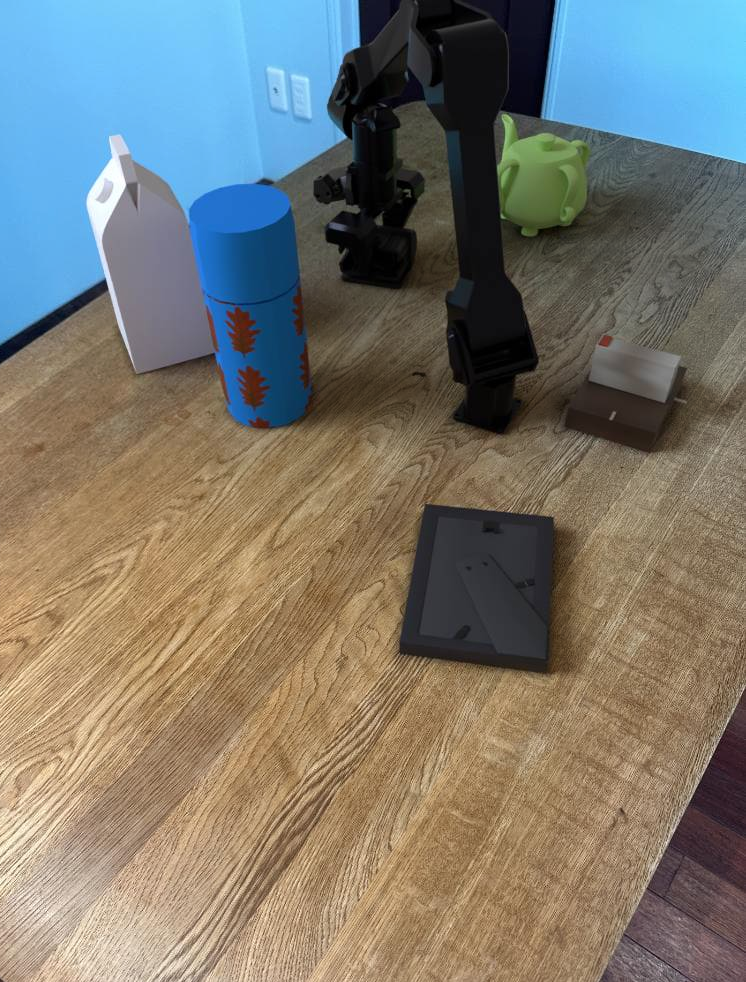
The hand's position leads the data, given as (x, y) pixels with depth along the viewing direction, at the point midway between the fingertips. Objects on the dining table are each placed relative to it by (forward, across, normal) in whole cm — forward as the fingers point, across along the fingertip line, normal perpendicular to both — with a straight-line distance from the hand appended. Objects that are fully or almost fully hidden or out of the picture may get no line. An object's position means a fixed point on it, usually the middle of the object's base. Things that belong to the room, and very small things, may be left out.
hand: (377, 263), depth 118 cm
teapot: (+2, -25, +14) cm, 29 cm away
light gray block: (-2, +14, +41) cm, 43 cm away
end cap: (+2, 0, 0) cm, 2 cm away
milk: (+2, +27, -18) cm, 32 cm away
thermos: (+2, +32, +2) cm, 32 cm away
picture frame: (+2, +47, +37) cm, 60 cm away
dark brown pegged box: (+2, +14, +41) cm, 43 cm away
